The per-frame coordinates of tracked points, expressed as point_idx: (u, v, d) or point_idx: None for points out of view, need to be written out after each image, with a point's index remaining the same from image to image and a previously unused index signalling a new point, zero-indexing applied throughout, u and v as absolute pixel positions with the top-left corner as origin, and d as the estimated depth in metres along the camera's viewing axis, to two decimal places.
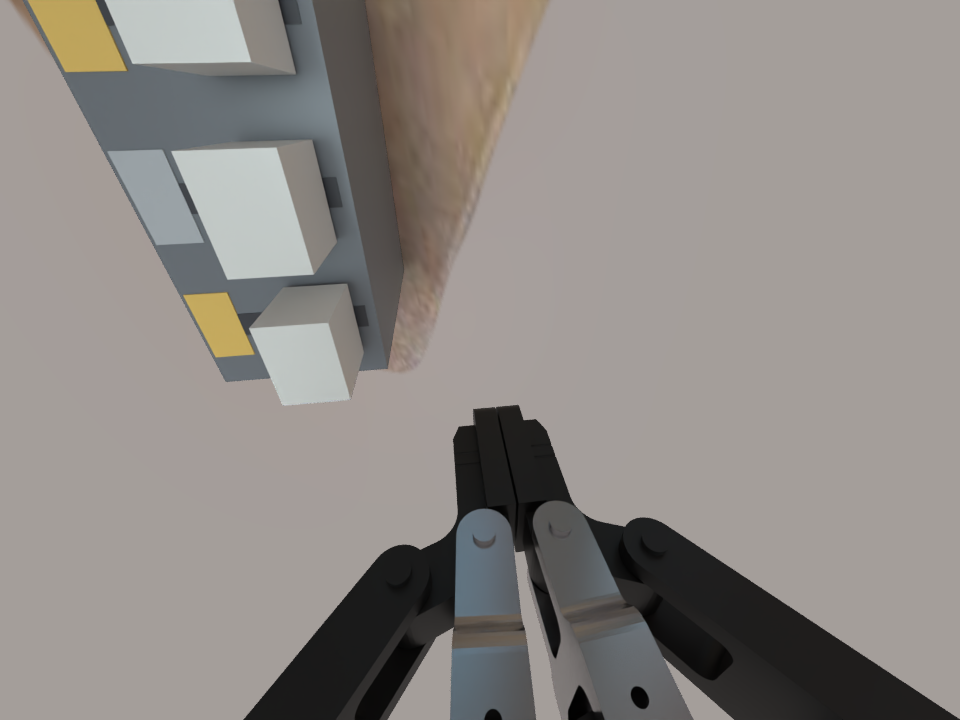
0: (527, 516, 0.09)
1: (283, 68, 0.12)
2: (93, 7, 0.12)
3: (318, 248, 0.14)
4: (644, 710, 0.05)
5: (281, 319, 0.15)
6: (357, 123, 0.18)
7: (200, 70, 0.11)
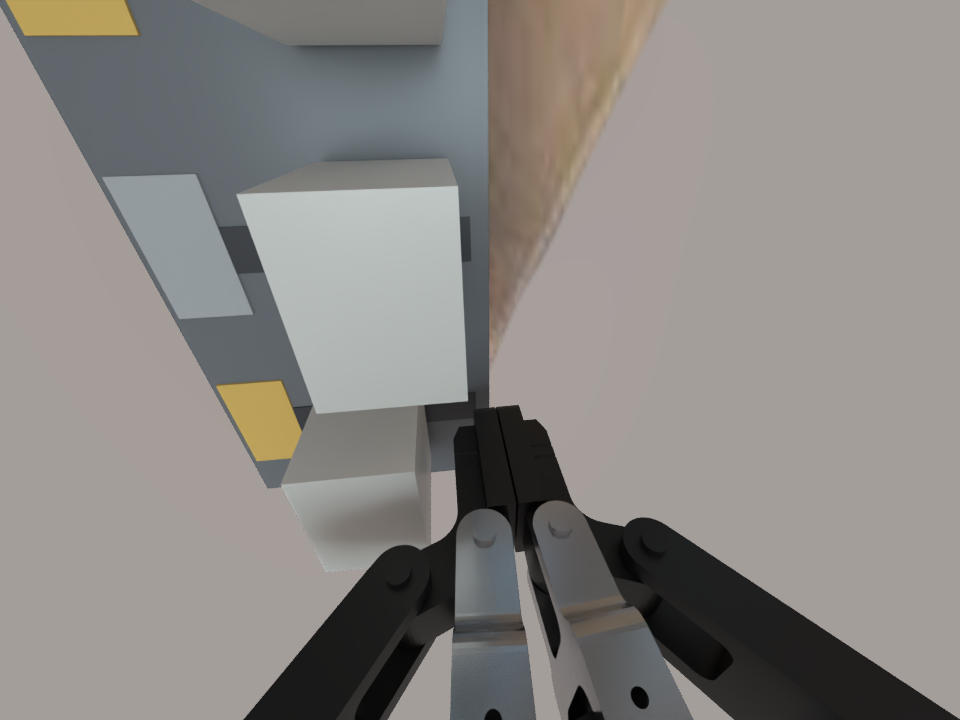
0: (527, 516, 0.09)
1: (442, 27, 0.06)
2: None
3: None
4: (644, 710, 0.05)
5: (333, 460, 0.09)
6: None
7: (290, 25, 0.06)
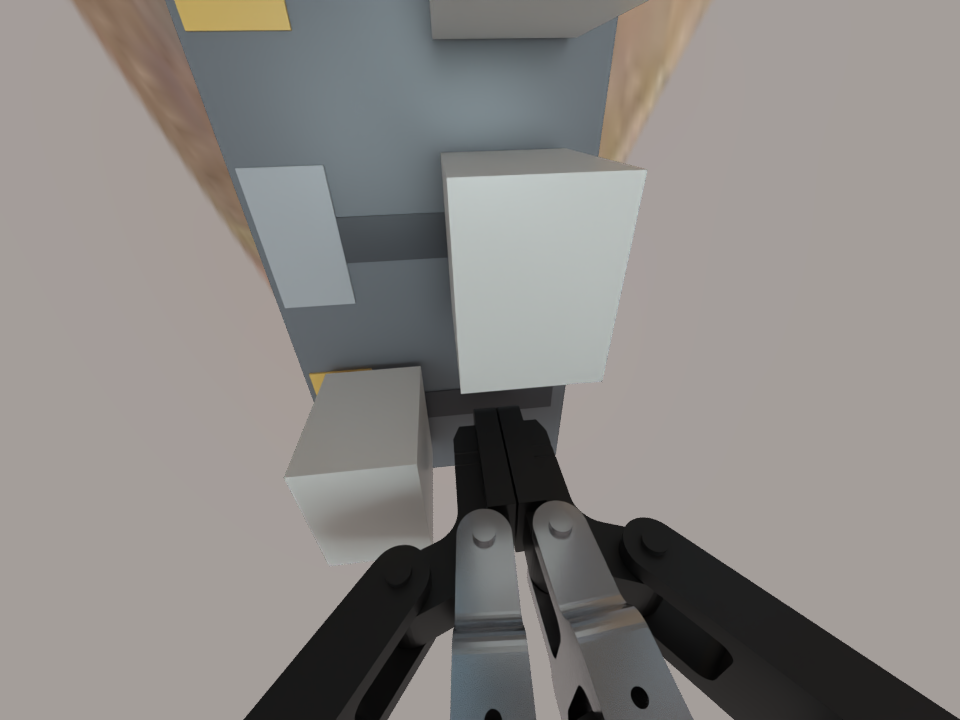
0: (526, 516, 0.09)
1: (602, 20, 0.06)
2: None
3: None
4: (643, 710, 0.05)
5: (336, 453, 0.09)
6: None
7: (474, 18, 0.06)
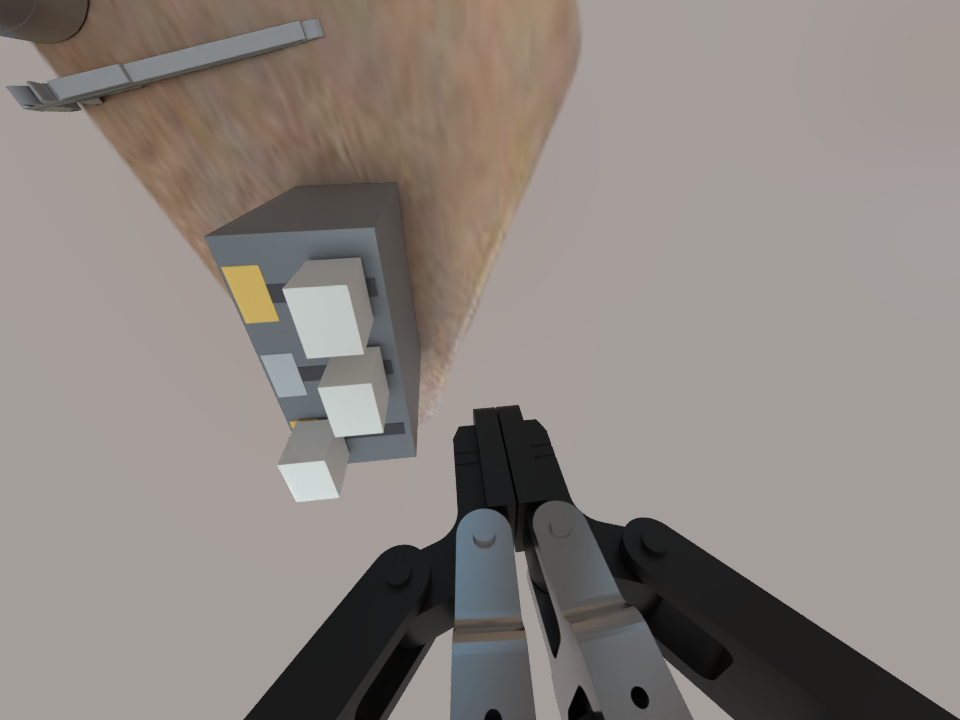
0: (527, 515, 0.09)
1: (370, 329, 0.22)
2: (267, 297, 0.22)
3: (384, 412, 0.24)
4: (643, 710, 0.05)
5: (296, 456, 0.24)
6: (399, 306, 0.28)
7: None
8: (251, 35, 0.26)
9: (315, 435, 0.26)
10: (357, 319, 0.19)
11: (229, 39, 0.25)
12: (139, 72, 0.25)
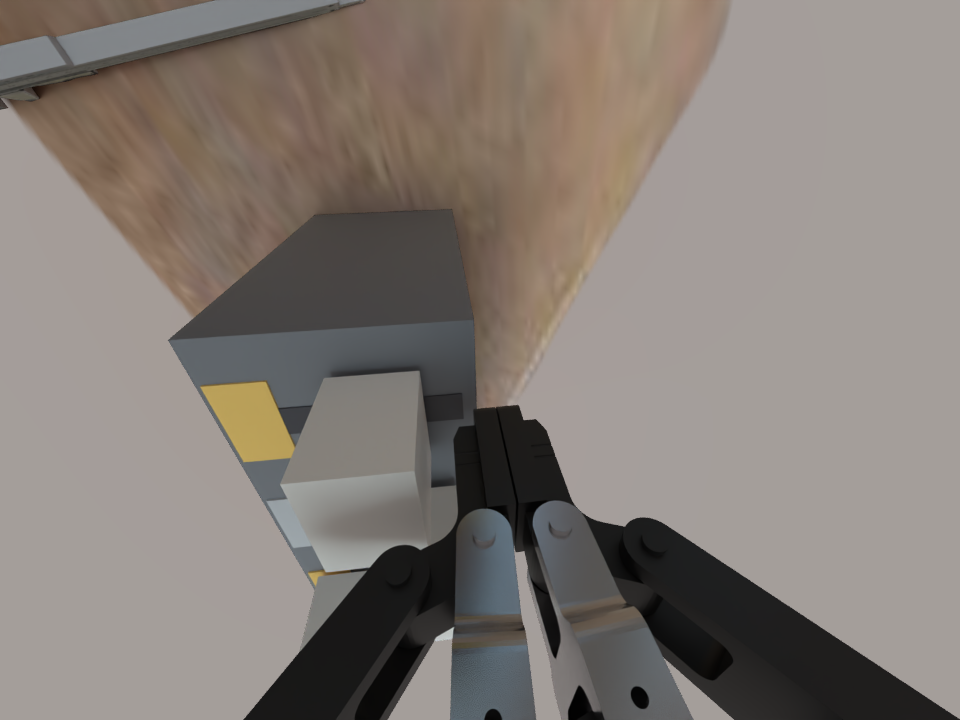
0: (526, 516, 0.09)
1: None
2: (280, 426, 0.13)
3: None
4: (643, 710, 0.05)
5: None
6: None
7: None
8: None
9: None
10: (423, 508, 0.10)
11: (223, 1, 0.17)
12: (83, 50, 0.16)
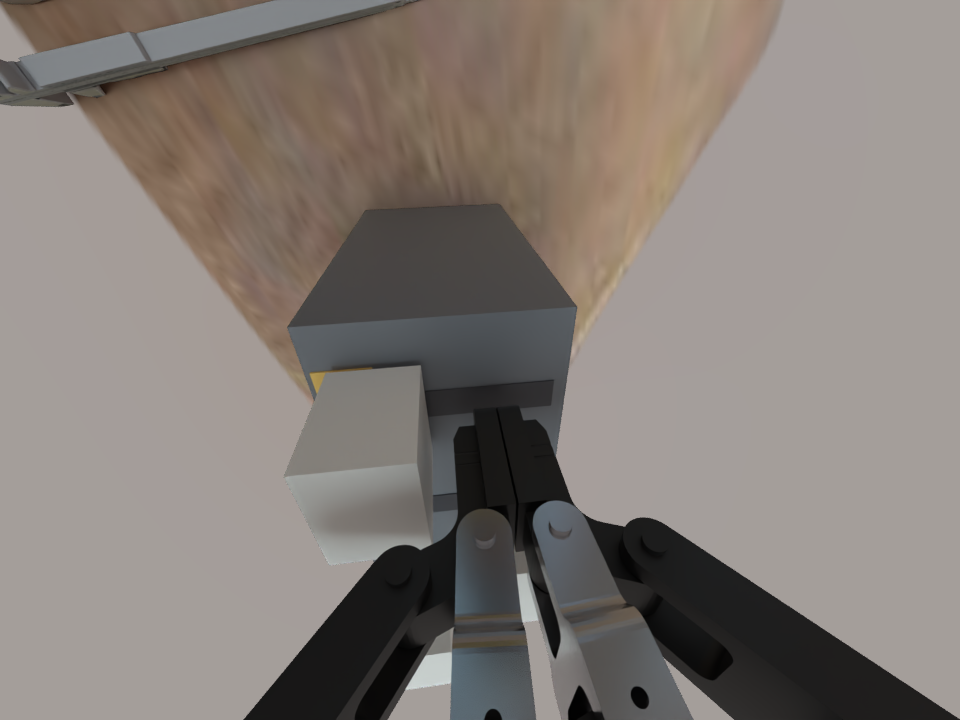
0: (527, 515, 0.09)
1: (432, 477, 0.13)
2: None
3: None
4: (643, 710, 0.05)
5: None
6: None
7: None
8: None
9: None
10: (425, 501, 0.10)
11: None
12: (161, 46, 0.16)
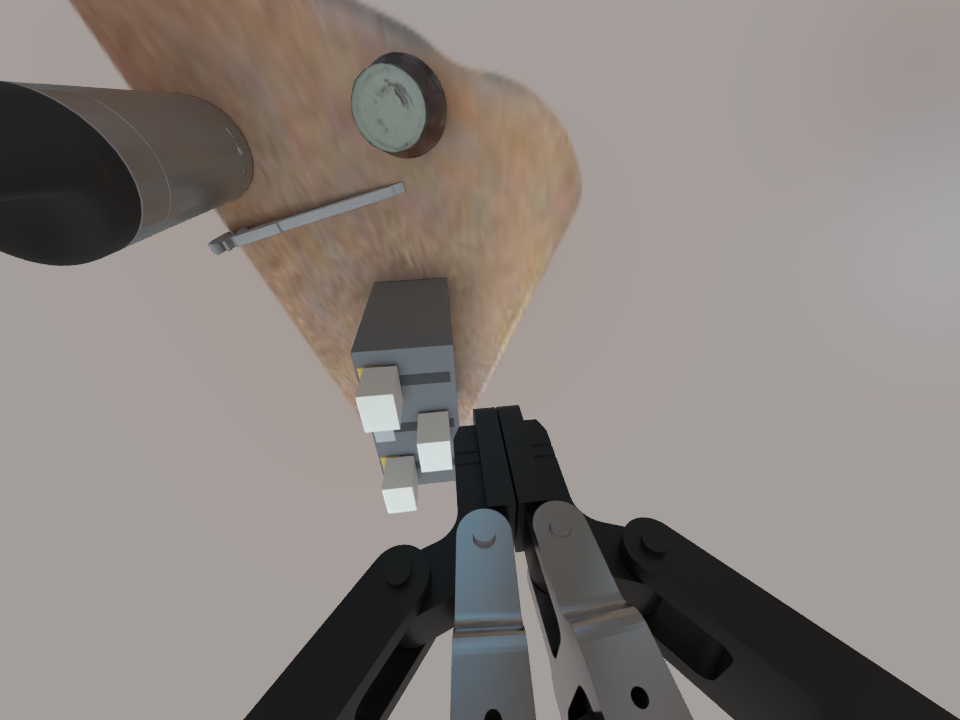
0: (527, 515, 0.09)
1: None
2: None
3: (451, 455, 0.36)
4: (643, 710, 0.05)
5: (392, 484, 0.36)
6: None
7: None
8: (360, 197, 0.38)
9: (401, 468, 0.38)
10: (397, 409, 0.31)
11: (345, 201, 0.38)
12: (287, 225, 0.37)
